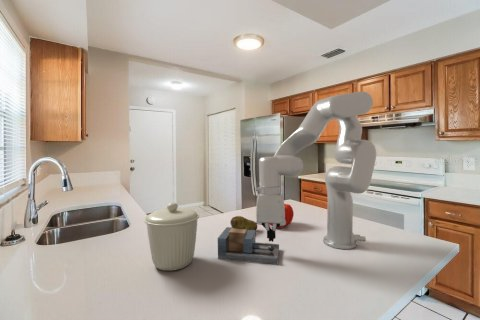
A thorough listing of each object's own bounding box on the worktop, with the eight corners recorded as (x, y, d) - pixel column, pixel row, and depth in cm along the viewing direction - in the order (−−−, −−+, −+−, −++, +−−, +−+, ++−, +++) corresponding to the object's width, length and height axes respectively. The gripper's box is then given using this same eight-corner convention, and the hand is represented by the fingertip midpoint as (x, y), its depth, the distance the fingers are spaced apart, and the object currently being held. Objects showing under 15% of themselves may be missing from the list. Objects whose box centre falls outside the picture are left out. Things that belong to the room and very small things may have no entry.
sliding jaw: (274, 246, 89) (274, 231, 88) (273, 256, 80) (273, 240, 80) (248, 244, 91) (247, 229, 91) (243, 254, 82) (243, 238, 82)
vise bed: (279, 249, 90) (279, 230, 90) (277, 264, 78) (277, 242, 78) (227, 245, 94) (226, 227, 94) (217, 258, 83) (217, 238, 82)
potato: (259, 235, 105) (259, 218, 104) (230, 236, 104) (230, 219, 104) (256, 229, 113) (256, 213, 113) (230, 230, 112) (230, 213, 112)
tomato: (263, 228, 114) (263, 205, 113) (270, 220, 127) (270, 199, 126) (290, 232, 108) (290, 207, 108) (295, 223, 121) (295, 201, 121)
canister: (139, 261, 82) (137, 202, 81) (187, 247, 93) (185, 195, 92) (155, 284, 67) (153, 213, 66) (209, 265, 78) (208, 203, 77)
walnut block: (246, 247, 89) (246, 229, 88) (244, 251, 85) (244, 233, 84) (231, 246, 90) (231, 228, 90) (228, 250, 86) (228, 232, 86)
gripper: (247, 192, 82) (249, 243, 83) (291, 192, 79) (292, 245, 80) (251, 188, 89) (252, 235, 90) (291, 188, 86) (292, 237, 87)
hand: (271, 240), depth 85 cm, fingers closed
